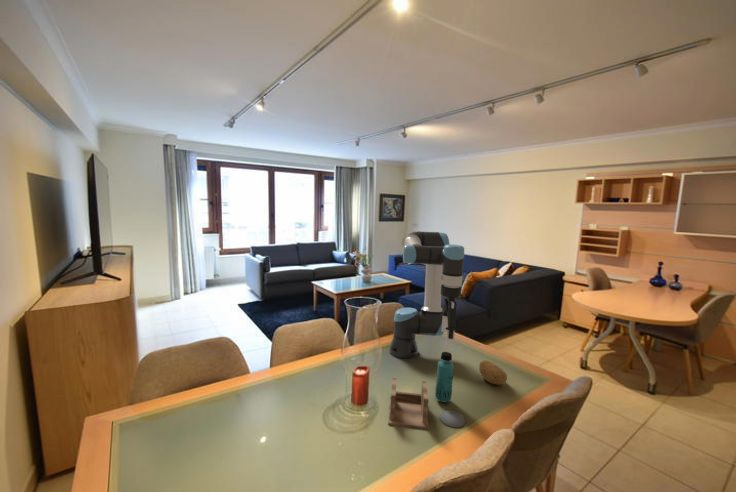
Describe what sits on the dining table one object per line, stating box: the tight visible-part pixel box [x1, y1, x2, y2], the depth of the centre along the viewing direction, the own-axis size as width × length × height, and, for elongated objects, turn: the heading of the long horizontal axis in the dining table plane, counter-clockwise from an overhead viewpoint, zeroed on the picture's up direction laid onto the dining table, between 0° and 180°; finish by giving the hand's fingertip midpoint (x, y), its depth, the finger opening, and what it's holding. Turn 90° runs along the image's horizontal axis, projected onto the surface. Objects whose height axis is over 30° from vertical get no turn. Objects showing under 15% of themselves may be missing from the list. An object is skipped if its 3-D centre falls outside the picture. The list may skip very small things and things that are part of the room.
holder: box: [387, 377, 429, 430], centre depth 119 cm, size 16×14×10 cm
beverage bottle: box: [434, 351, 455, 403], centre depth 127 cm, size 6×7×20 cm
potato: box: [478, 359, 508, 386], centre depth 144 cm, size 10×14×8 cm
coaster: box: [438, 409, 466, 429], centre depth 117 cm, size 9×9×1 cm
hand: (447, 338), depth 125 cm, fingers open, 13 cm apart
